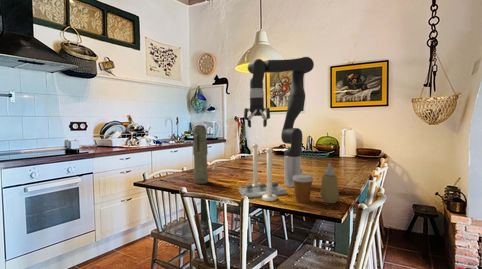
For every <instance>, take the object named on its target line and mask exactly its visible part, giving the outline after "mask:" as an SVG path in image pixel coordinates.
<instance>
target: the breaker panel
mask: <svg viewBox="0 0 482 269" xmlns="http://www.w3.org/2000/svg"><path fill="white" fill-rule="evenodd" d="M265 185H266V187H265V188H259V186H253V188H252V189H249V190H248V189H246V186H239V187H238V193H239V194H241V195H242V197H243V196H247V197H249V198H262V196H263V195H265V194H267V184H265ZM272 194H274V195H276V196H284V195H287V189H286V188H284V187H283V186H281V185H279V184H278V186H277V187H274V188H273V187H272ZM249 198H248V199H249Z"/></svg>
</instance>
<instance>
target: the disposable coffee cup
mask: <svg viewBox="0 0 482 269" xmlns="http://www.w3.org/2000/svg"><path fill="white" fill-rule="evenodd" d="M293 181H294V187H293V188H294V194H295V201H296V202H298V203H303V204H304V203H306V204H307V203H309V202H310V199H311V194H312V193H311V192H312V184H313V181H314V177H313V175H311V174H309V173H302V174H295V175H293Z"/></svg>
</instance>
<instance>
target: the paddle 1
mask: <svg viewBox="0 0 482 269" xmlns="http://www.w3.org/2000/svg"><path fill="white" fill-rule="evenodd" d="M252 184H253V183H247V184H245V187H246V189H248V190H249V189H252V188H253V186H252Z"/></svg>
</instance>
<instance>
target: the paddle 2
mask: <svg viewBox="0 0 482 269" xmlns="http://www.w3.org/2000/svg"><path fill="white" fill-rule="evenodd" d="M278 185H279V182H277V181H274V182H273V181H272V187H273V188H274V187H277V186H278Z"/></svg>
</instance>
